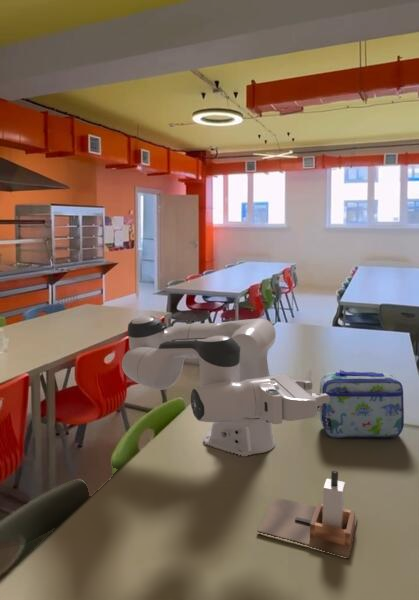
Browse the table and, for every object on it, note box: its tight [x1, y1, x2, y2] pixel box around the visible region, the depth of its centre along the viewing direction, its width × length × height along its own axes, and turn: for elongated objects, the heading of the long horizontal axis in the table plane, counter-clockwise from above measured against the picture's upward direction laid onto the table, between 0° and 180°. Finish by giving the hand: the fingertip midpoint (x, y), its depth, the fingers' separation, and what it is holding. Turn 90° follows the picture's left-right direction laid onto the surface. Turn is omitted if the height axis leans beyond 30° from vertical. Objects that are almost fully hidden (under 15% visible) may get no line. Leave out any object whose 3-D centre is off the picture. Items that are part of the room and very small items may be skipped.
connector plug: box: [322, 470, 346, 529], centre depth 105 cm, size 4×4×14 cm
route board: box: [257, 496, 358, 559], centre depth 108 cm, size 20×14×4 cm
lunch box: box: [319, 369, 405, 439], centre depth 153 cm, size 26×11×21 cm, turn 84°
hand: (319, 391), depth 110 cm, fingers open, 8 cm apart
